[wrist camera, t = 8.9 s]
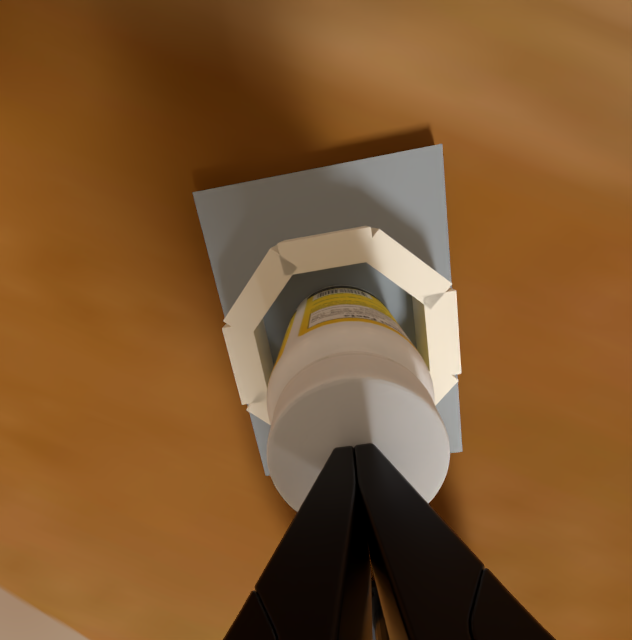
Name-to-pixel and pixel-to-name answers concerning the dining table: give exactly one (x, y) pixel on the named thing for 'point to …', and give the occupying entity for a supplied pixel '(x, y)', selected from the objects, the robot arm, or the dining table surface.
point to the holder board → (335, 263)
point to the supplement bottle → (351, 395)
